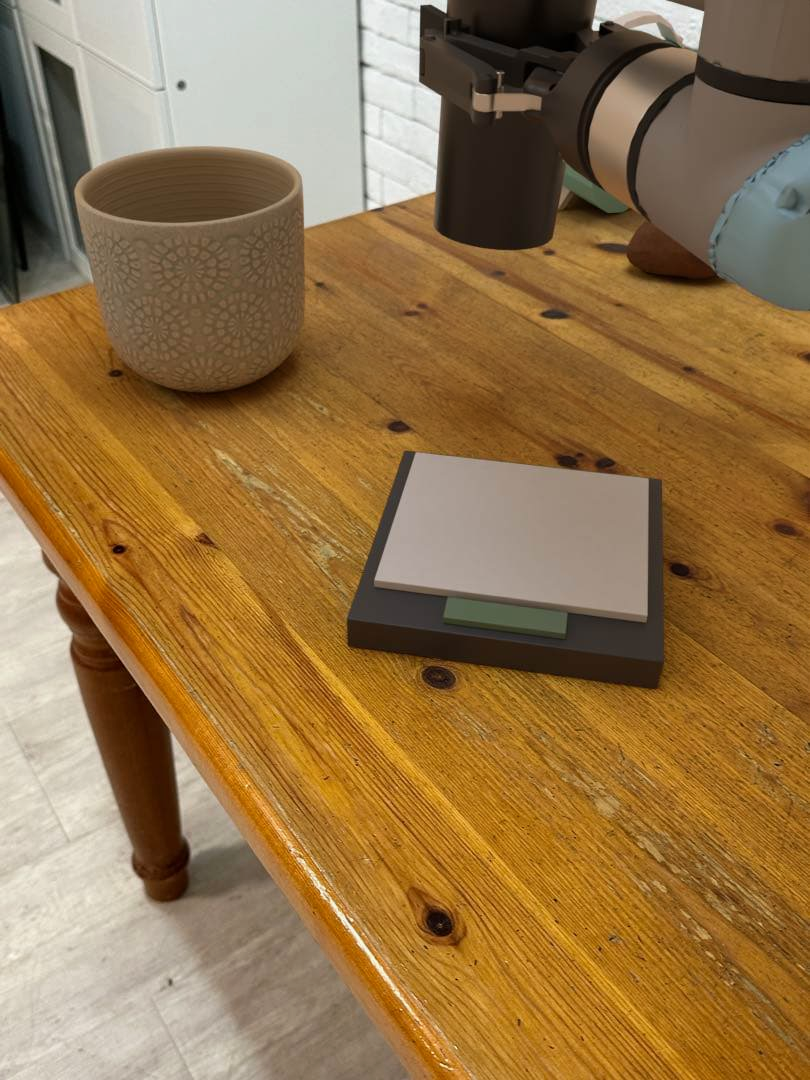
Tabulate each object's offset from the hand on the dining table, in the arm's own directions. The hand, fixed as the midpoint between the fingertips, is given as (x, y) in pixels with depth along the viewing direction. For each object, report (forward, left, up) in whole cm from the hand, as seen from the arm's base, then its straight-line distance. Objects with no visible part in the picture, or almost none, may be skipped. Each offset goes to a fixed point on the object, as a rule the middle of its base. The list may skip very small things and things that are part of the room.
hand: (470, 24), depth 70 cm
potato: (-18, -25, -27) cm, 42 cm away
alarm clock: (-10, -42, -27) cm, 51 cm away
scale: (-7, +24, -27) cm, 36 cm away
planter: (+21, +2, -27) cm, 34 cm away
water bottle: (-3, +4, -12) cm, 13 cm away
